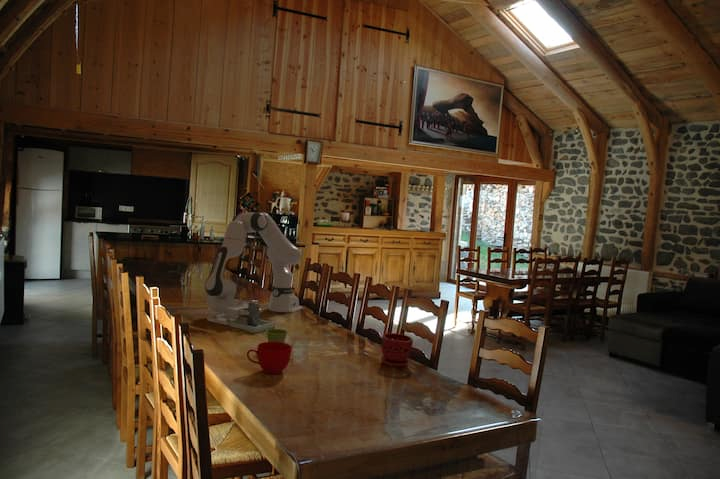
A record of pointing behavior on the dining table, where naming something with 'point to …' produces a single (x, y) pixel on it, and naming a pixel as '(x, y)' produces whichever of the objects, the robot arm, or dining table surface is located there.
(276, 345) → the ceramic cup
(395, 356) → the plant pot
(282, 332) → the plant pot
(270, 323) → the bin
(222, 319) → the tray
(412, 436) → the dining table surface
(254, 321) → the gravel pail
